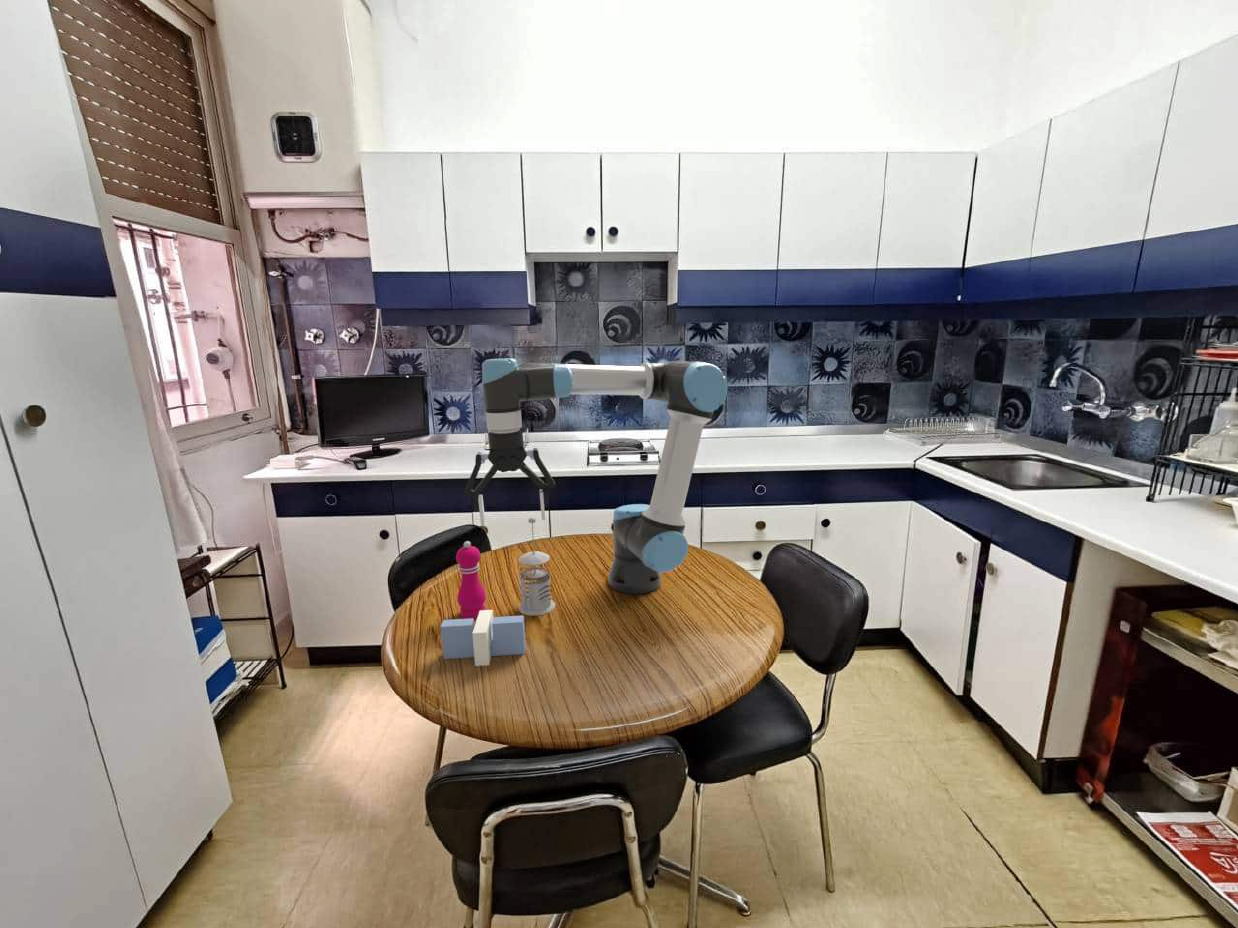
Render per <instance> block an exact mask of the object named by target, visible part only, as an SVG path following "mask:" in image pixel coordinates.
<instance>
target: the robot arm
mask: <svg viewBox="0 0 1238 928" xmlns="http://www.w3.org/2000/svg"><path fill="white" fill-rule="evenodd" d="M481 370H482V371H481V374H482V375H481V377H482V378H481V379H482V381H481V383H482V389H483V398H484V405H485V419H486V428H487V430H488V431H489V432H488V433H487V437H488V438H487V439H488V448H489V452H488V453H482V452H480V451H479V452H477V453H476V454H475V460H474V461H475V464H474V466H473V470H472V472H471V474H470V476H469V479H468V481H467V484H466V487H465V489H464V492H463V495H464V496H465V497H471V498H472V500H473V501H472V502H473V510H474V511H475V512H479V517H480V518H479V519H480V526H481V527H485V526H486V516H485V515H486V514H485V507H484V506H485V505H484V498H483V494H481V493H482V492H483V490H485V488H486V487H487V485H488V484H489V483H490V481H491V480H492V479H493V478H494V476H495V475H496V473H497V472H501V473H507V472H516V471H518V470H520V471H521V472H522V473H523V474H525V475H526V476H527V477H528V478H529V479H530V480H531V482H533V483H534V484H535V485H536V486H537V487H538V488H540V489H539V491H538V492H539V500H540V501H539V502H540V503H539V504H540V515H541V521H545V520H546V513H545V506H546V505H547V506H548V505H549V504H550V499H549V491H550V490H552V489H555V488H557V487H556V482H555V480H554V479H553V476H552V475H551V473H550V472H549V470H548V469H547V467H546V466H545V463H544V462H543V460H542V459H541V458H540V455H539V454H540V453H539V449H538V448H537V447H533V449H530V450H526V449H525V443H524V434H523V433H524V431H523V430H522V429H521V428H522V427H523V424H522V423H523V422H522V421H523V420H522V410H521V409H522V408H521V402H527V401H536V400H537V401H538V400H539V401H540V400H550V399H551V400H552V399H553V400H554V399H555V400H558V399H560V398H561V399H562V398H567V397H569V396H570V395H587V396H588V395H590V396H591V395H592V396H593V395H596V396H597V395H599V396H601V395H602V396H603V395H604V396H608V395H609V396H639V398H641V399H642V400H655V401H660V402H665V403H667V405H666V406H667V407H666V412H667V413H668V415H669V417H670V419H669V423H668V429H667V433H666V437H665V440H664V446H663V448H662V453H661V457H660V462H659V466H658V470H657V474H656V477H655V482H654V483H655V484H654V487H653V490H652V491H653V492H652V496H651V499H650V502H649V504H645V503H638V504H637V503H634V504H633V503H632V504H626V505H621V506H619V507H616V508H615V509H614V511H613V518H612V523H613V555H614V557H613V561H612V562H611V563H612V564H611V566H610V570H609V573H608V585H609V587H610V588H611V589H613V590H615V591H617V592H620V593H624V594H629V595H630V594H637V595H638V594H645V593H651V592H652V591H654V590H656V589H658V588H659V587H660V585H661V578H662V577H661V576H662V575H661V573H667V572H671V571H674V570H675V569H676V568H678V567H679V566H680V565H681V564H682V563H683V562H684V561H685V559H686V557H687V555H688V551H689V544H688V541H687V539H686V536H684V531H685V527H686V524H687V523H686V519H684V517H683V511H684V507H685V503H686V499H687V495H688V491H689V487H690V482H691V478H692V474H693V471H694V466H695V461H696V459H697V458H696V457H697V453H698V450H699V447H700V442H701V437H702V434H703V430H704V426H705V425H706V424H708V423H710V422H711V421H712V418H713V414H714V411H716V410H718V409H719V407H721V406H722V405H723V404H725V401H726V399H727V396H728V395H727V394H728V383H727V379H726V377H725V375H724V372H723V371H722V370H721V369H720V368H719V367H718V366H716V365H715V364H712V363H708V362H704V361H699V360H698V361H688V360H687V361H686V360H670V361H664V362H663V361H662V362H643V363H641V364H640V365H639V366H635V365H633V366H631V365H630V366H629V365H610V364H609V365H605V364H604V365H603V364H602V365H601V364H577V363H576V364H573V363H571V364H570V363H548V362H547V363H545V362H543V363H541V362H531V361H524V362H521V363H519V364H518V362H517V359H515V358H512V357H510V358H509V357H508V358H507V357H505V358H489V359H485V360H484V361H483V362H482V364H481ZM527 457H529V458H530V459H531V460H532V461H533V460H534V463H535V464H536V466H537V468H538V470H539V471H540V473H541V474H542V476H543V477H544V479H545V481H546V482H547V483H545V481H543V480H542V478H540V477H539V476H538V475H537V474H536V473H535V472H534V471H533V470H532V469H531V468H530V467H529V466H528V465H527V464H526V463H525V462H524V461H525V460H526V458H527ZM486 460H488V461H489V462H490V463H491V464H492V466H491V467H490V468H489V470H488V471H487V473H486V474H485V476H484V477H483V478H482V479H481V481H480V483H478V485H477V487H475V489H473V487H474V485H475V482H476V479H477V476H478V474H479V473H480V472H479V471H480V469H481V466H482V464H485V463H486Z"/></svg>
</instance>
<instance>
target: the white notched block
mask: <svg viewBox="0 0 1238 928" xmlns="http://www.w3.org/2000/svg"><path fill="white" fill-rule="evenodd" d="M493 618H494V610H493V609H485V610H480V612H479V615H478V618H476V622H475V623H474V630H473V633H472V635H473V647H474V657H473V658H474V666H475V667H482V666H483V667H484V666H490V662H491V659H492V656H491V653H490V644H491V640H492V637H493V631H492V622H493Z"/></svg>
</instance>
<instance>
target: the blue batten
mask: <svg viewBox="0 0 1238 928" xmlns="http://www.w3.org/2000/svg"><path fill="white" fill-rule="evenodd" d="M474 627H475V618H470V619H466V618H456V619H443V621H442V623H441V624H440V634H441V635H440V637H441V646H442V655H443V656H442V657H443V660H449V659H467V658H474V647H473V635H472V633H473V630H474ZM492 631H493V637H492V640H491V644H490V653H491V657H499V656H500V657H501V656H514V655H515V656H516V655H525V653H526V648H527V647H526V632H525V631H526V629H525V614H524V615H523V614H522V615H509V616H507V615H506V616H493V622H492Z"/></svg>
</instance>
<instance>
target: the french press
mask: <svg viewBox="0 0 1238 928" xmlns="http://www.w3.org/2000/svg"><path fill="white" fill-rule="evenodd" d="M536 522H537V520H536V518H535V517H530V518H528V524H531V532H532V536H534V523H536ZM534 541H535V540H534V537H532V548H533V549H532V550H533V551H529V552H524V554H523V555H521V556H520V557H518V562H519V563H520V564H521V565H522V566H526V567H529V568H526V569H524V568H522V569H521V570H520V572H519V575H518V579H517V590H518V593H519V594H520V595H521V603H520V604H519V605H518V611H519V612H520V614H521V613H522V615H523V614H524V615H526V616H531V617H532V616H542V615H544V614H549V613H550V612H552V611H553V610H554V609H555V607H556V602H555V601H554V600H552V595H551V594H552V591H551V575H550V574H549V570H548V569H547V568H545V567H539V566H541V565H544V564H546V563H547V562H548V561H549V560H550V558H551V557H550V555H549V554H547V553H545V552H542V551H538V550H536V551H535V542H534ZM519 580H520V583H519ZM527 581H529V582H527ZM530 581H531V582H530ZM532 581H533V582H532ZM519 584H520V586H519Z"/></svg>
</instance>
